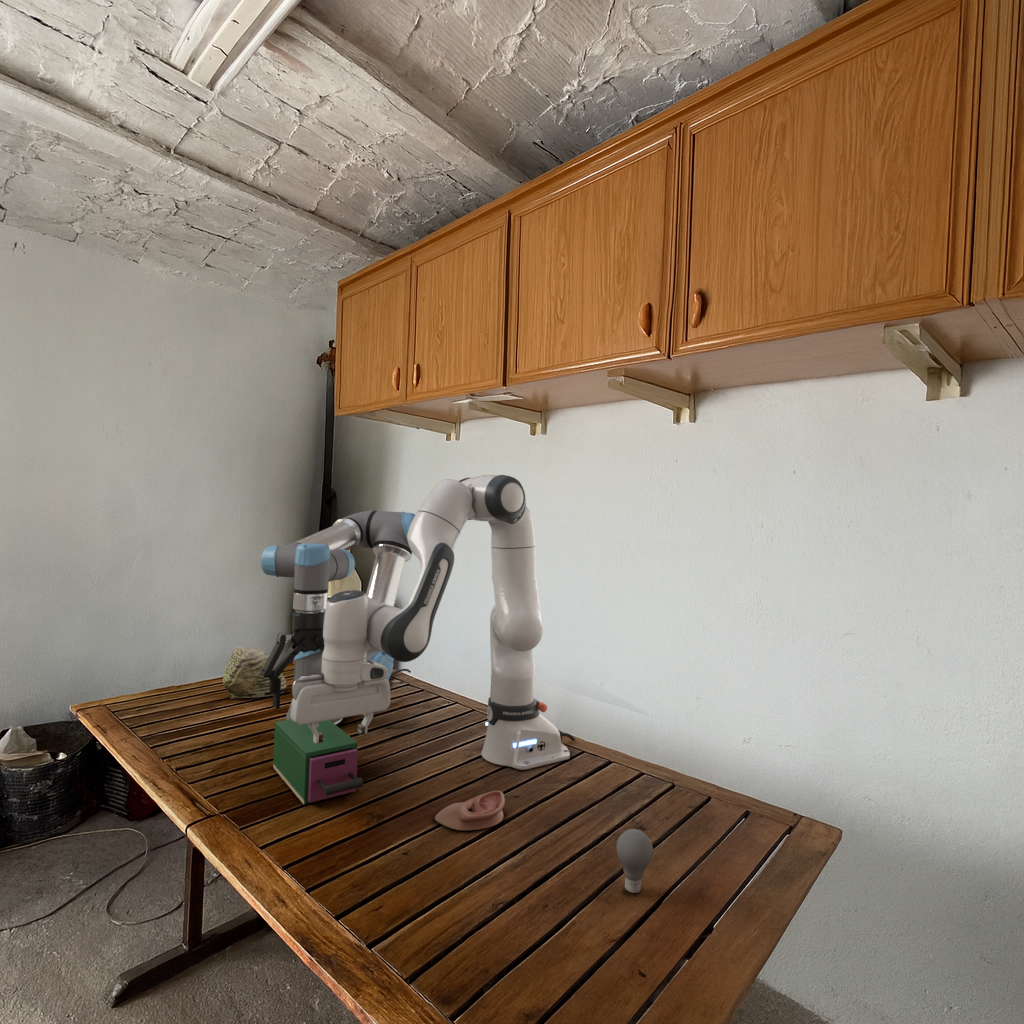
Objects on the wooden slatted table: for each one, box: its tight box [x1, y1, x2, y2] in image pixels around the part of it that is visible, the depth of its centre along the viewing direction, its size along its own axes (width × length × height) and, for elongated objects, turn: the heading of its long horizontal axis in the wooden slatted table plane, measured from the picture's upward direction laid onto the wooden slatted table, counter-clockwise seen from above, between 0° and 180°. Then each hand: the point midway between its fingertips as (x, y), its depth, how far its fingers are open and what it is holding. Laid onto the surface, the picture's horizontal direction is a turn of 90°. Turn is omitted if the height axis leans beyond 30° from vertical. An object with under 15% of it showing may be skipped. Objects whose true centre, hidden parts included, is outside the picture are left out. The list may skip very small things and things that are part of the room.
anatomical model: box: [434, 790, 506, 831], centre depth 128 cm, size 13×4×12 cm
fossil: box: [222, 646, 288, 699], centre depth 198 cm, size 9×18×15 cm, turn 132°
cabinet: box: [272, 719, 358, 805], centre depth 142 cm, size 21×11×11 cm, turn 37°
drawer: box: [308, 748, 364, 803], centre depth 138 cm, size 26×10×9 cm, turn 37°
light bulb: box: [615, 828, 654, 894], centre depth 106 cm, size 6×6×10 cm
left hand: (306, 702), depth 146 cm, fingers open, 13 cm apart
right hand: (340, 737), depth 130 cm, fingers open, 8 cm apart
